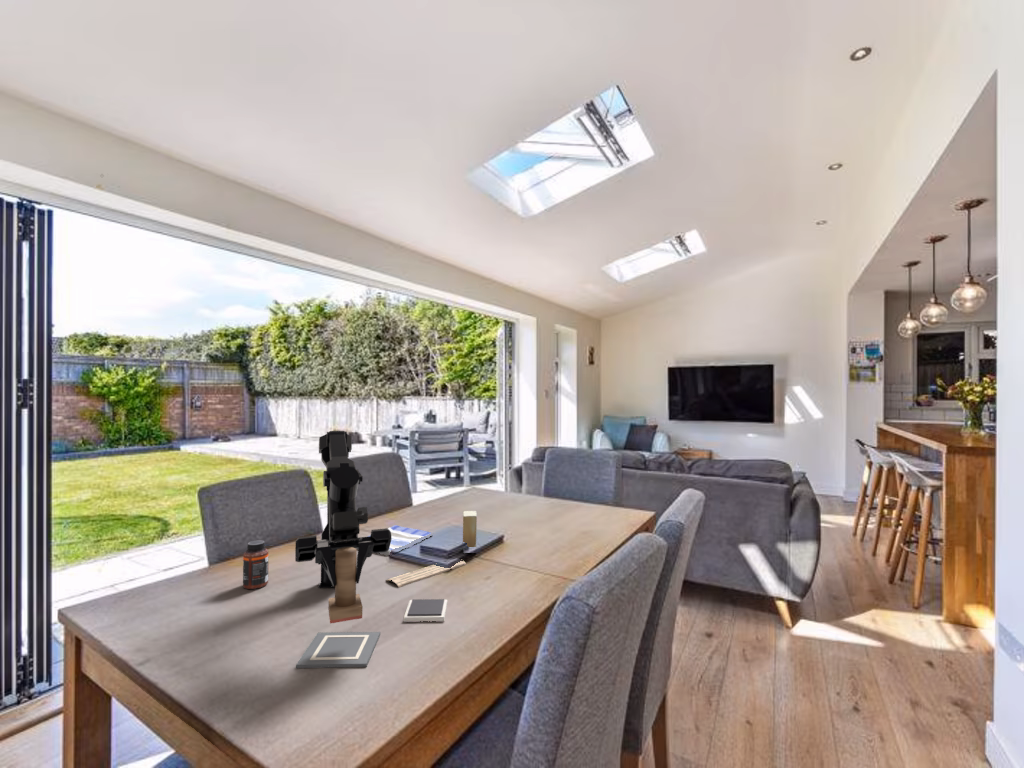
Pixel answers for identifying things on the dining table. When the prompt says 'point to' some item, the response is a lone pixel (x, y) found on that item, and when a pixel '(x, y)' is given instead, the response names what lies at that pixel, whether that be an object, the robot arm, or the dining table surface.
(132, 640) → the dining table surface
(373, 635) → the form board
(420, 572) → the newspaper
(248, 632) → the dining table surface
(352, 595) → the stamp
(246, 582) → the supplement bottle
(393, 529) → the dish towel
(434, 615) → the ink pad
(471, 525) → the skincare box
